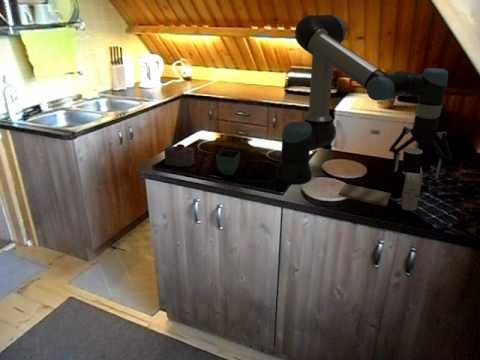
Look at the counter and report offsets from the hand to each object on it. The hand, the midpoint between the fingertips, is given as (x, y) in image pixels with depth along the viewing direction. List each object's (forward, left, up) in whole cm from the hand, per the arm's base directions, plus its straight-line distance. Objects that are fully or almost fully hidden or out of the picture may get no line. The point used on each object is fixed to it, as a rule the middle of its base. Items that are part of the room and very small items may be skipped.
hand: (415, 174), depth 139 cm
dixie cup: (-4, +33, -13) cm, 36 cm away
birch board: (-16, 0, -13) cm, 21 cm away
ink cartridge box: (0, 0, -13) cm, 13 cm away
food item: (-98, -10, -13) cm, 100 cm away
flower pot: (-74, -7, -13) cm, 76 cm away
